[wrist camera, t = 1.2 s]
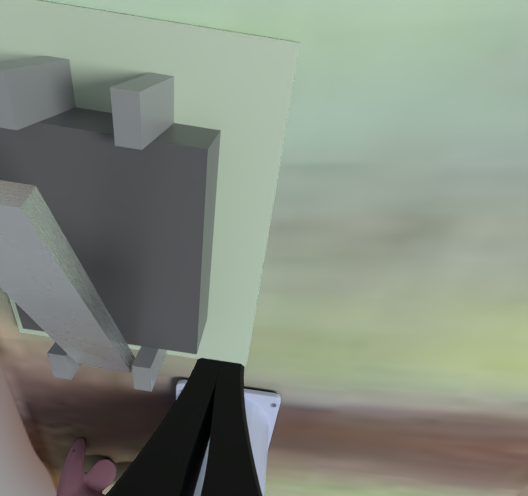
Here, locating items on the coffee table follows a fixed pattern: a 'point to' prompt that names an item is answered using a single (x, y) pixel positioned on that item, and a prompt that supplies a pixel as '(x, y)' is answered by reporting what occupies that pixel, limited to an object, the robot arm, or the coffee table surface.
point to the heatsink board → (203, 98)
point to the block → (54, 282)
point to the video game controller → (84, 474)
